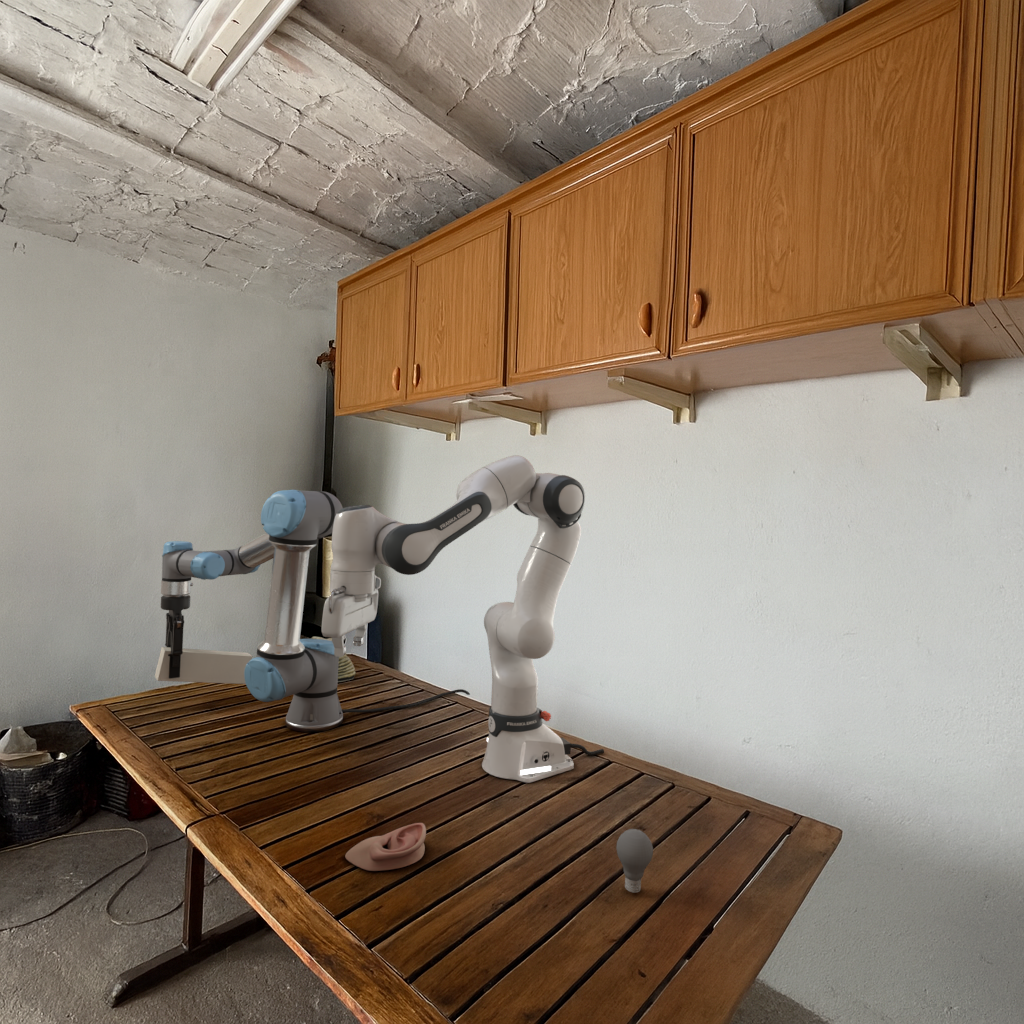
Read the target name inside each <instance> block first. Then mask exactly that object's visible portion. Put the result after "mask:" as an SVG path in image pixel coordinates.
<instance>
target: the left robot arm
mask: <svg viewBox="0 0 1024 1024" xmlns="http://www.w3.org/2000/svg"><path fill="white" fill-rule="evenodd" d="M342 508H344V507H343V505H342V503H341V501H340V500H339V498H337V497H336V496H335V495H334V494H332V493H330V492H327V491H323V490H321V491H320V490H300V489H283V490H278V491H275V492H273V493H272V494H271V495H270V496H269V497H268V498H267V499H266V500H265V502H264V504H263V506H262V508H261V512H260V523H261V526H263V527H262V529H263V531H264V533H262V534H261V535H259V536H257V537H255V538H253V539H251V540H250V541H248V542H245V543H244V544H242V545H240V546H238V547H237V548H236V547H235V548H234V549H223V550H221V549H219V550H218V549H217V550H206V551H205V550H195V549H194V547H193V543H192V542H191V541H185V540H171V541H166V542H165V543H164V544H163V549H162V555H161V557H162V558H161V560H162V562H161V563H162V564H161V580H160V581H161V585H160V594H161V597H160V609H161V610H163V611H168V612H166V613H165V619H166V622H165V623H166V624H165V644H164V647H170V648H171V653H170V654H168V656H170V661H169V679H170V678H179V677H180V661H181V654H182V653H183V651H182V649H183V648H184V644H183V643H184V627H185V615H184V614H183V613H182V612H183V610H188V609H190V607H191V596H190V595H189V594H191V589H192V588H191V587H193V586H194V583H193V582H192V578H194V579H201V580H203V581H204V580H205V581H206V580H210V581H211V580H215V579H218V578H219V577H225V576H237V575H249V574H251V573H256V571H258V570H259V568H260V567H261V565H263V564H265V563H267V562H269V561H270V560H272V567H271V576H270V585H269V596H268V604H267V612H266V613H267V614H266V623H265V630H264V631H265V632H264V639H263V640H262V641H261V642H260V643H258V644H257V648H256V655H255V657H252V659H251V660H250V661H249V662H248V663H247V665H246V667H245V671H244V677H245V683H246V684H245V685H246V687H247V690H249V693H250V694H251V695H252V696H253V698H255V699H256V700H258V701H260V702H263V703H270V702H275V701H280V700H283V699H285V698H287V697H291V696H293V697H292V699H291V702H290V704H289V708H288V711H287V713H286V715H285V726H286V728H287V729H289V730H291V731H294V732H295V731H296V732H301V733H316V732H325V731H329V730H332V729H335V728H337V727H339V726H340V725H342V723H343V722H344V714H343V713H355V714H356V713H358V714H359V713H360V714H365V713H375V712H376V713H377V712H382V711H391V710H398V709H399V710H400V709H406V708H414V707H416V706H420V705H423V704H426V703H428V702H432V701H435V700H436V699H438V698H441V697H445V696H449V695H453V694H457V693H464V694H466V695H467V696H469V695H471V693H470V692H469V691H467V690H465V689H461V688H458V689H454V690H450V691H446V692H442V693H438V694H436V695H434V696H432V697H428V698H426V699H423V700H421V701H417V702H414V703H413V702H412V703H408V704H401V705H390V706H385V707H377V708H366V709H361V708H360V709H357V708H344V709H343V708H342V706H341V702H340V699H339V695H338V683H339V682H338V664H339V657H336V656H335V655H334V645H333V642H332V641H329V640H322V639H311V638H301V632H302V623H303V615H304V613H303V612H304V607H305V606H304V605H305V595H306V587H307V579H308V568H309V560H310V559H309V558H310V551H311V550H312V549H314V548H315V547H316V546H317V543H318V540H321V539H323V538H324V537H327V536H329V535H332V532H333V524H334V519H335V516H336V514H337V512H338V511H339V510H341V509H342Z"/></svg>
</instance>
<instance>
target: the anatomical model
mask: <svg viewBox="0 0 1024 1024" xmlns="http://www.w3.org/2000/svg"><path fill="white" fill-rule="evenodd" d="M426 837H427V827H426V824H425V823H423V822H415V823H412V824H408V825H404V826H402V827H399V828H396V829H394V830H392V831H390V832H388V833H384V834H382V835H375V836H372V837H367V838H365V839H364V840H361V841H360V842H358V843H357V844H356V845H353V847H351V848H350V849H349V850H348V851H347V852H346V853H345V856H344V857H345V860H347V862H349V863H350V864H352V865H354V866H356V867H357V868H360V869H362V870H364V871H367V872H378V871H380V872H381V871H389V870H396V869H400V868H404V867H407V866H410V865H412V864H415V863H417V862H418V861H420V860H421V859H422V858H423V857H424V854H425V851H426V849H425V848H426V846H425V843H424V842H425V840H426Z"/></svg>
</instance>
